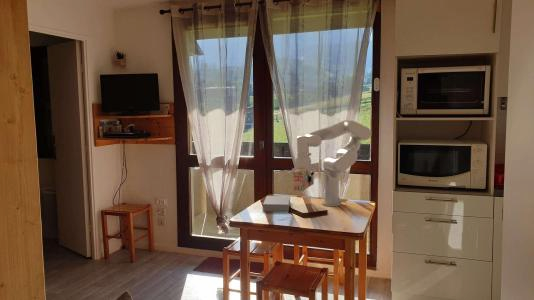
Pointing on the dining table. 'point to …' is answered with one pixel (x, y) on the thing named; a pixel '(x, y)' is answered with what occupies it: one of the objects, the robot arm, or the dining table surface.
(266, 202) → the grey box
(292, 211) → the dining table surface
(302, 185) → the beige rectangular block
